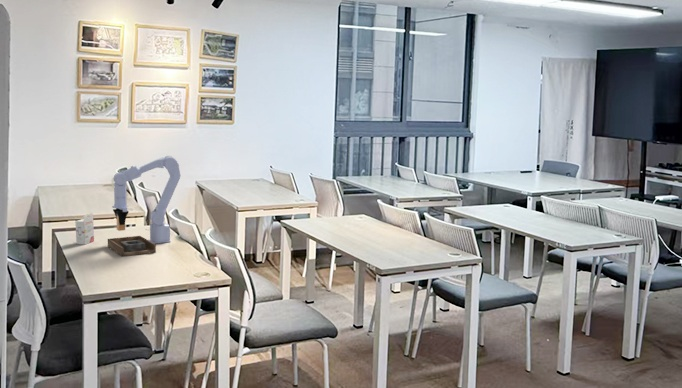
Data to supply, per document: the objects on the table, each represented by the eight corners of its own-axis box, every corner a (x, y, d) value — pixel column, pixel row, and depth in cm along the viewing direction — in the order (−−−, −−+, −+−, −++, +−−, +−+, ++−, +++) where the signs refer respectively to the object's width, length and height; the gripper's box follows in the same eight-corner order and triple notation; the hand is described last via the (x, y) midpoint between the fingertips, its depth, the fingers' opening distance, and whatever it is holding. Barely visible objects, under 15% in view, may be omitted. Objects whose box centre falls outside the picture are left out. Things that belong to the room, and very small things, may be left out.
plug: (123, 228, 344) (123, 213, 343) (125, 230, 342) (125, 214, 340) (116, 229, 342) (116, 213, 341) (118, 230, 339) (118, 214, 338)
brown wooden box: (140, 243, 344) (139, 235, 343) (155, 252, 326) (155, 244, 326) (107, 246, 335) (107, 238, 334) (122, 256, 317) (121, 248, 316)
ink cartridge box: (85, 240, 347) (84, 212, 344) (94, 241, 346) (93, 212, 343) (75, 244, 338) (74, 214, 336) (84, 245, 337) (84, 215, 335)
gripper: (107, 195, 343) (108, 222, 345) (116, 199, 331) (117, 227, 333) (122, 194, 347) (122, 220, 349) (131, 198, 335) (131, 226, 337)
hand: (120, 224), depth 341 cm, fingers closed on plug, 3 cm apart
